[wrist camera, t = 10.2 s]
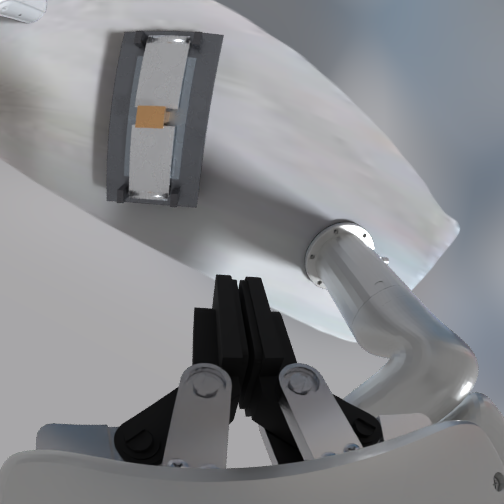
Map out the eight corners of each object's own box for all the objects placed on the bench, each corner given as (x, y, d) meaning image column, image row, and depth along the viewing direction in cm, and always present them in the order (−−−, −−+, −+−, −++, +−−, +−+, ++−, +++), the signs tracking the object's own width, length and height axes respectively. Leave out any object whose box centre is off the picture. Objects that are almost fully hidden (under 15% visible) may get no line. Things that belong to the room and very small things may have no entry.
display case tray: (222, 42, 28) (225, 25, 21) (197, 197, 38) (194, 219, 31) (133, 39, 25) (114, 23, 18) (115, 191, 35) (95, 211, 28)
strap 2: (169, 198, 33) (167, 202, 32) (130, 196, 32) (128, 199, 31) (175, 125, 28) (174, 127, 27) (134, 123, 27) (131, 125, 26)
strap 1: (149, 36, 23) (147, 34, 22) (192, 38, 24) (191, 35, 23) (136, 107, 27) (134, 107, 26) (178, 109, 28) (177, 108, 27)
